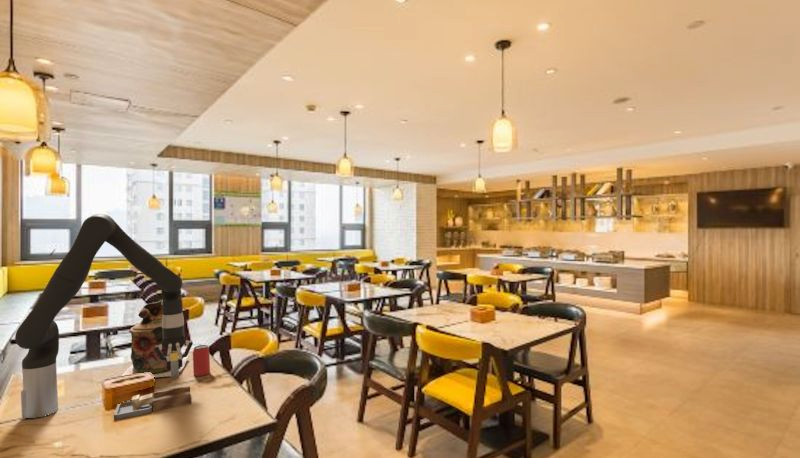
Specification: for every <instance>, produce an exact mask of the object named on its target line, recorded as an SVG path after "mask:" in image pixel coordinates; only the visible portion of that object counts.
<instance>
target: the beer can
mask: <svg viewBox="0 0 800 458" xmlns="http://www.w3.org/2000/svg"><path fill="white" fill-rule="evenodd" d="M210 359H211V357H210V348H209V345H206V344H200V345H197V346H194V347H193V351H192V365H193V371H192V372H193V376H196V377H205V376H207V375H209V374H210V372H211V363H210V362H211V361H210Z"/></svg>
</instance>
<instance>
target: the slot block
mask: <svg viewBox="0 0 800 458" xmlns="http://www.w3.org/2000/svg"><path fill="white" fill-rule="evenodd" d="M153 397H154V400H153V407H152V412H155V411H159V410H164V409H169V408H176V407H179V406H180V407H181V406H185V405H191V404H192V401H191V400H192V398H191V385H186V386H180V387H176V388H169V389H164V390H163V389H162V390H159V391H154V392H153Z"/></svg>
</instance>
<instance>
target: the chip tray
mask: <svg viewBox="0 0 800 458" xmlns="http://www.w3.org/2000/svg"><path fill="white" fill-rule="evenodd" d="M126 401H127V402H124V401H122V402H123V406H122V407H121V403H120V404H118V403H117V405H116V408H115V410H114V414H113V420H114V421H117V420H121V419H126V418H131V417H137V416H141V415H142V416H143V415H146V414H147V415H148V414H152V412H153V403H151V404H147V405H144V406H141V409H140V410H135V411H133V406H132V401H130V400H126ZM124 405H127V406H124Z"/></svg>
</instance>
